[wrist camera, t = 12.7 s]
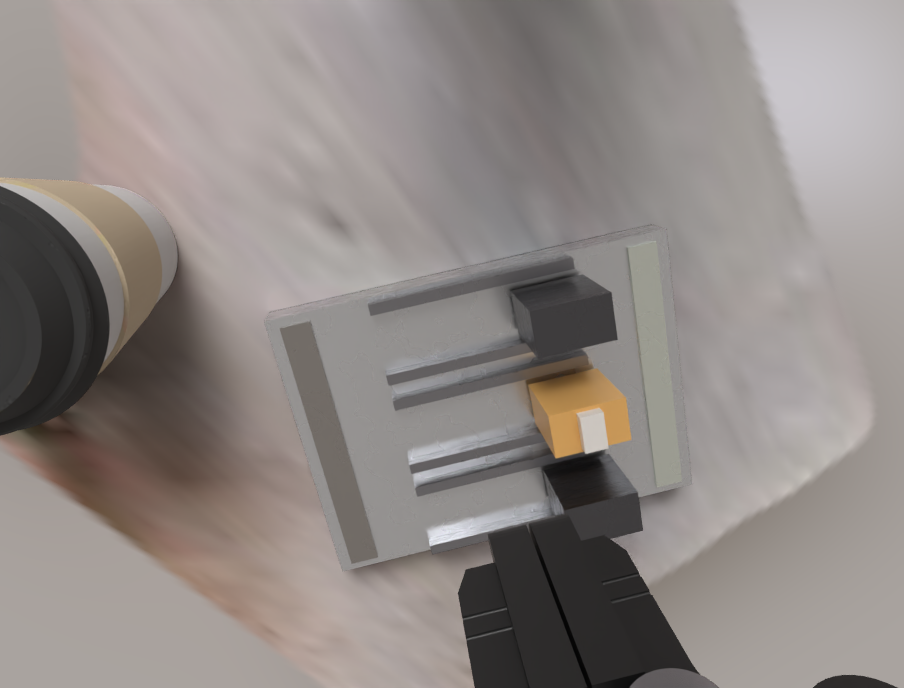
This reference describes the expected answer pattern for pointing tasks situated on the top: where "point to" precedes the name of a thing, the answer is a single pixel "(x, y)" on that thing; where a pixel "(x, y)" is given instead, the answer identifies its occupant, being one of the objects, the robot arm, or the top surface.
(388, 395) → the breaker panel
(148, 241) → the coffee cup
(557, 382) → the toggle
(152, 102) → the top surface
